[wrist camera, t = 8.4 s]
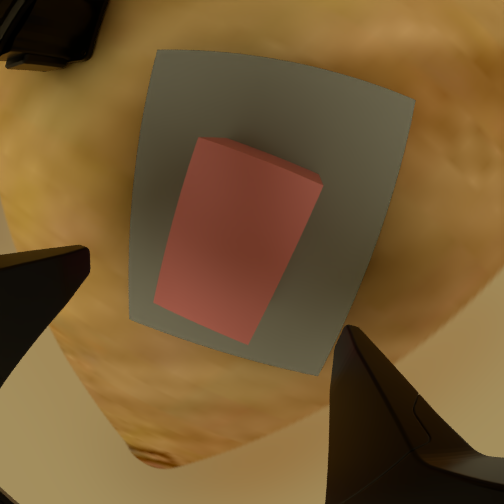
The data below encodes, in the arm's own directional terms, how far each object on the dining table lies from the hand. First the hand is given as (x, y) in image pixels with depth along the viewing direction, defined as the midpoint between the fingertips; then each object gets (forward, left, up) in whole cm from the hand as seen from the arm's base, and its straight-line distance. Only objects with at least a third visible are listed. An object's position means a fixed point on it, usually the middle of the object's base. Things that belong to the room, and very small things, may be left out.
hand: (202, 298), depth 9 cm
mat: (0, 0, -8) cm, 8 cm away
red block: (0, 0, -7) cm, 7 cm away
